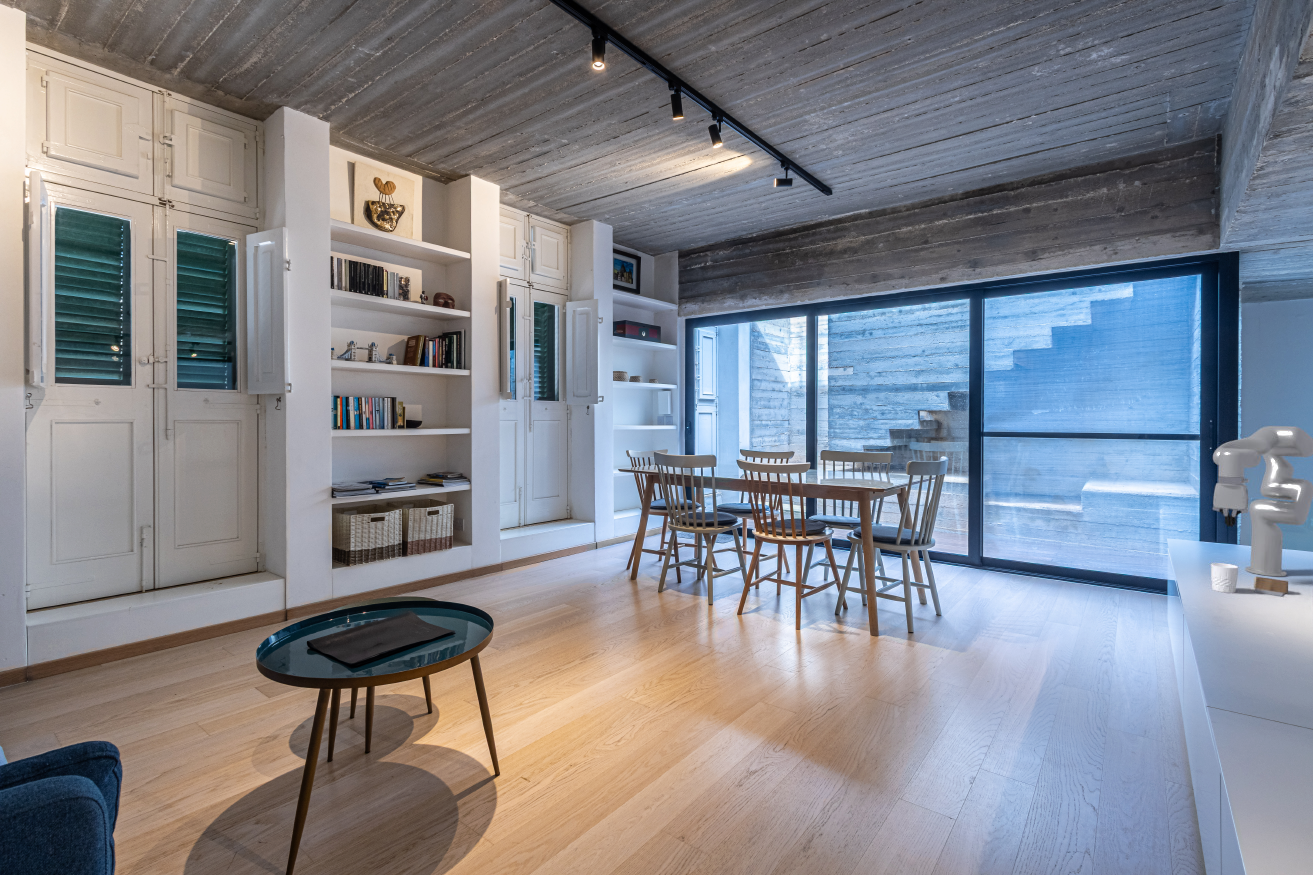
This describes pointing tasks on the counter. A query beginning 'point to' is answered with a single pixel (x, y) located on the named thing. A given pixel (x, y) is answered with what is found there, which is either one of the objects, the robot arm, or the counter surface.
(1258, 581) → the block
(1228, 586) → the white cup
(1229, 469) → the robot arm
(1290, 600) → the counter surface
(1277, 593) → the mat
